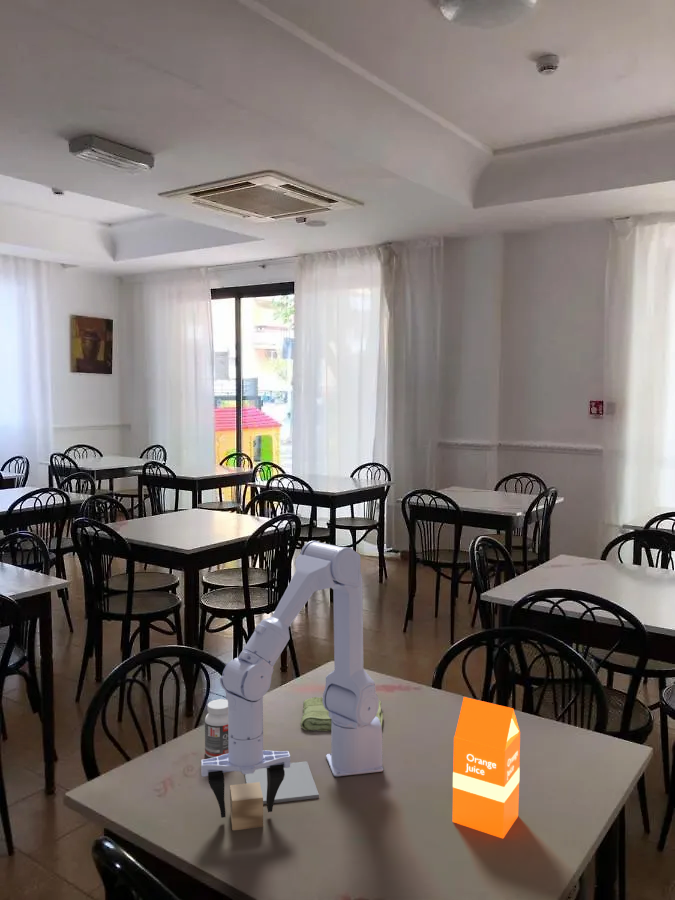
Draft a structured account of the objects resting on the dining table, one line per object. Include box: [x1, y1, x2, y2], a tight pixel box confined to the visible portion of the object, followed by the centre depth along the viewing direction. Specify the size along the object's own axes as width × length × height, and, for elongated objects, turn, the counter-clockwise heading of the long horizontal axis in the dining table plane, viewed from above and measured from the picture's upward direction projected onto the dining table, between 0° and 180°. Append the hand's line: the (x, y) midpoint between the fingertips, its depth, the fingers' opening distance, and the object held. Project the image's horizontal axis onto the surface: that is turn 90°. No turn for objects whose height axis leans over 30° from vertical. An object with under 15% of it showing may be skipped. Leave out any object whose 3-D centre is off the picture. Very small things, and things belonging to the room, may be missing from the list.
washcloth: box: [300, 696, 384, 732], centre depth 161 cm, size 13×18×3 cm
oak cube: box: [229, 782, 264, 831], centre depth 123 cm, size 5×5×5 cm
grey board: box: [244, 761, 320, 805], centre depth 134 cm, size 12×12×1 cm
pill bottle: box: [204, 698, 229, 758], centre depth 145 cm, size 6×6×10 cm
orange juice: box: [451, 696, 521, 839], centre depth 123 cm, size 8×9×20 cm
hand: (246, 811), depth 123 cm, fingers open, 7 cm apart
